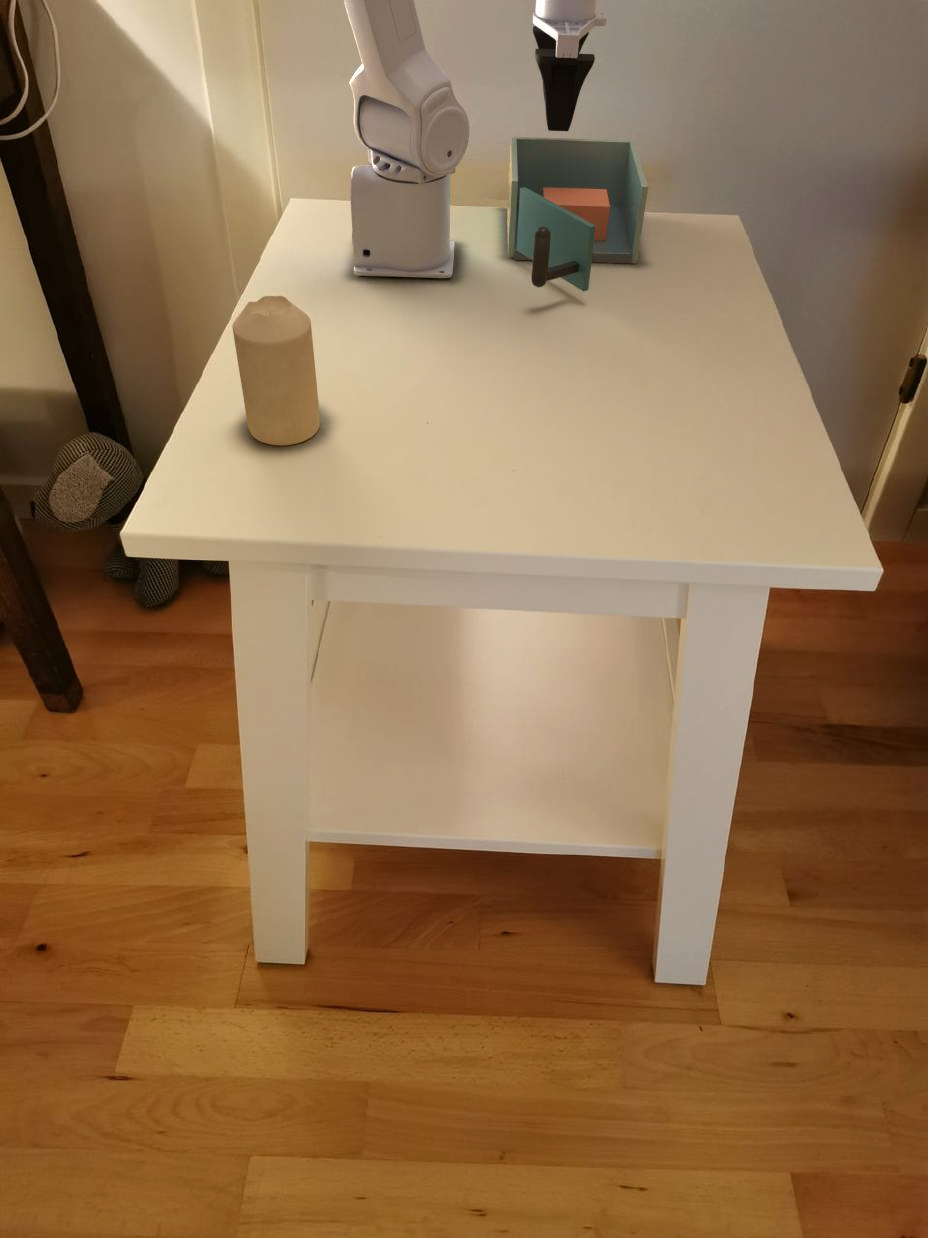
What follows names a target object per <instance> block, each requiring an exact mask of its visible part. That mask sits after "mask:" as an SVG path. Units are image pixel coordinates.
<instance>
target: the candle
mask: <svg viewBox="0 0 928 1238" xmlns="http://www.w3.org/2000/svg"><path fill="white" fill-rule="evenodd" d="M231 327H232V334H233V340H234V346H235V353H236V359H237V365H238V372H239V378H240V384H241V385H240V386H241V391H242V397H243V404H244V410H245V416H246V421H247V427H248V428H247V429H248V430H249V433H250V435H251V436H252V438H254V439H256V440H257V441H258V442H261V443H262V444H263V443H264V444H267V445H272V446H291V445H297V444H300V443H302V442H305V441H307V440H309V439H311V438H312V437H314V435H316V433H318V431H319V429H320V425H321V416H320V403H319V392H318V383H317V370H316V363H315V361H316V360H315V352H314V340H313V329H312V321H311V318H310V316H308V315H307V313H305V312H304V311H303V310H302V309H301V308H299V307H298V306H297V305H296V304H294V303H292V302H291V301H290V300H289V299H288V298H286V297H285V296H283V295H265V296H262V297H260V298H259V299H258V300H257V301H248V302H247V303H246V305H245V306H244V307H243V309H242V310H241V312H240V313H238V316H236V318H235V319H234V320H233V322H232V325H231Z"/></svg>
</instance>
